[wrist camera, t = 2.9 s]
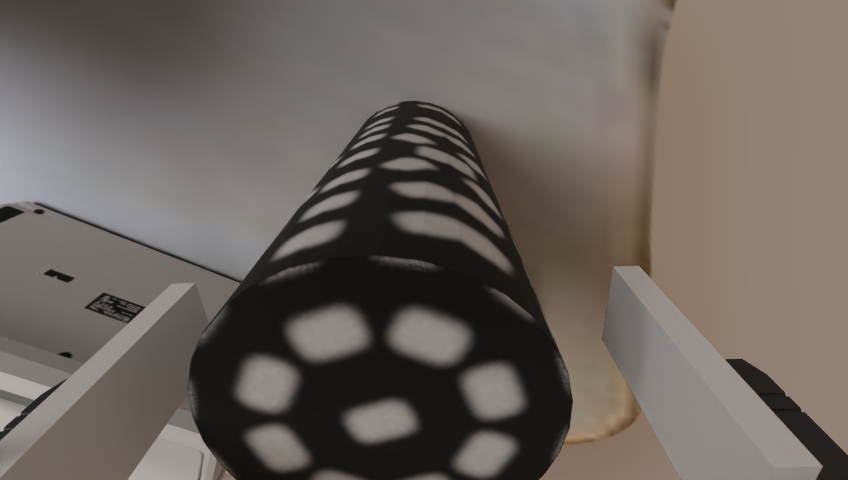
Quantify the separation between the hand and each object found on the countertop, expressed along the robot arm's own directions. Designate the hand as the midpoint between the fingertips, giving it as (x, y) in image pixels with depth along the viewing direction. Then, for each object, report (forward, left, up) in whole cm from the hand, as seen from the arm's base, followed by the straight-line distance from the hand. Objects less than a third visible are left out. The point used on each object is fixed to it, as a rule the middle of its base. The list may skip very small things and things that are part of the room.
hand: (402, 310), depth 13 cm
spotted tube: (0, 0, -16) cm, 16 cm away
